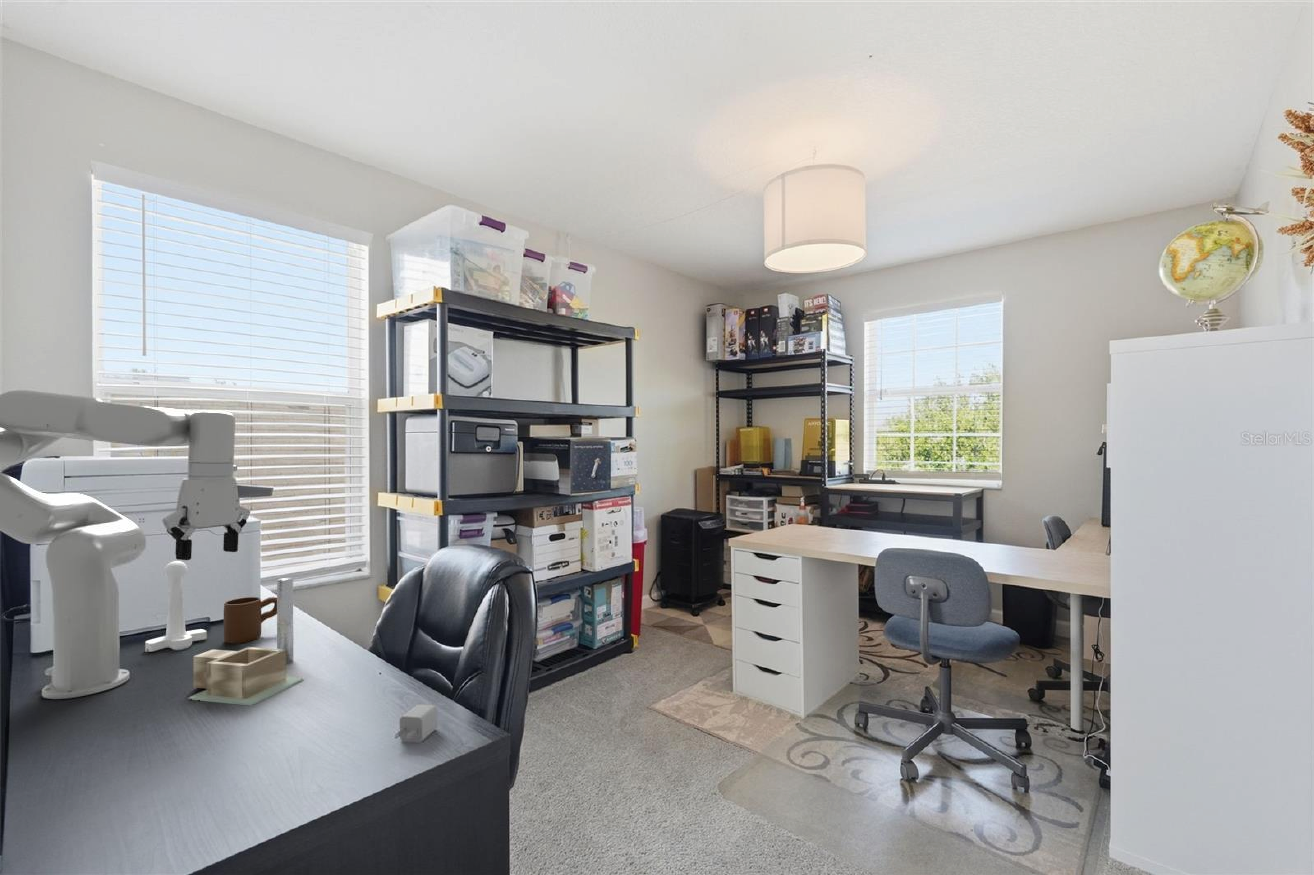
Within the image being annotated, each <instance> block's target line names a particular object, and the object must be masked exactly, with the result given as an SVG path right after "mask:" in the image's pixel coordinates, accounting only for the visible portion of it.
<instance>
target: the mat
mask: <svg viewBox="0 0 1314 875" xmlns="http://www.w3.org/2000/svg"><path fill="white" fill-rule="evenodd" d="M302 680H303V681H304V678H303V677H295V676H294V677H293V676H286V680H285V681H283V682H281V683H279V684H277V685H274V686H272V687H270V688H268V689H266V690H264V691H262V692H260V693H258V694H256V695H253V696H251V697H249V698H247V699H243V698H233V697H222V696H212V695H207V689H205V690H203V691H200V692H198V693H195V694H194V695H191V696H189V697H188V700H189V699H192V700H191V701H198V700H200V701H199V702H211V703H219V704H229V705H230V704H231V705H239V706H249V707H252V706H254V705H255V704H257V703H260V702H262V701H264V700H266V699H268V698H270V697H272V696H274V695H276V694H278V693H280V692H282V691H284V690H286V689H289V688H290V687H292V686H294V685H296V684H298V683H300V682H302Z"/></svg>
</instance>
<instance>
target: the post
mask: <svg viewBox="0 0 1314 875" xmlns="http://www.w3.org/2000/svg"><path fill="white" fill-rule="evenodd" d="M276 598H277V614H276V644H277V645H276V649H282V650H286V665H287V664H291V663H293V662H294V658H295V657H294V578H293V577H283V578H282V577H281V578H278V579H276Z"/></svg>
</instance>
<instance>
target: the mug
mask: <svg viewBox="0 0 1314 875" xmlns="http://www.w3.org/2000/svg"><path fill="white" fill-rule="evenodd" d="M271 604H274V606H273V608H272V609H271V610H269V611H264V612H263V613H262V609H263V608H265V607H267V606H268V605H271ZM275 616H277V596H276V597H274V596H271V597H267V598H264V599H262V600H261V598H260V597H256V596H249V597H247V596H246V597H240V598H235V599H231V600H227V601H225V602H224V605H223V640H224V643H226V644H231V645H232V644H234V645H236V644H237V645H238V644H244V643H249V642H253V641H256V640H257V639H259V638H260V637H261V635H262V624H263V623H264V622H265V621H267V619H271V618H273V617H275Z"/></svg>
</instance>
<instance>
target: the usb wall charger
mask: <svg viewBox="0 0 1314 875" xmlns="http://www.w3.org/2000/svg"><path fill="white" fill-rule="evenodd" d="M437 728H438V708H437V706H435V705H431V704H416V705H415V706H414V707H412V708H411V709H410V710H409V711H407V712H406V713H405V714H403V715H402V716H400V718H399V731H398V732H396V733H395V734H394V735H395V736H394V738H395V740H397V739H398V738H399V740H400V741H401V742H408V743H409V742H410V743H422V742H423V741H424V740H425V739H426V738H428V737H429V736H430V735H431V734H432V733H433V732H434V731H435V730H436V729H437Z"/></svg>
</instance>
